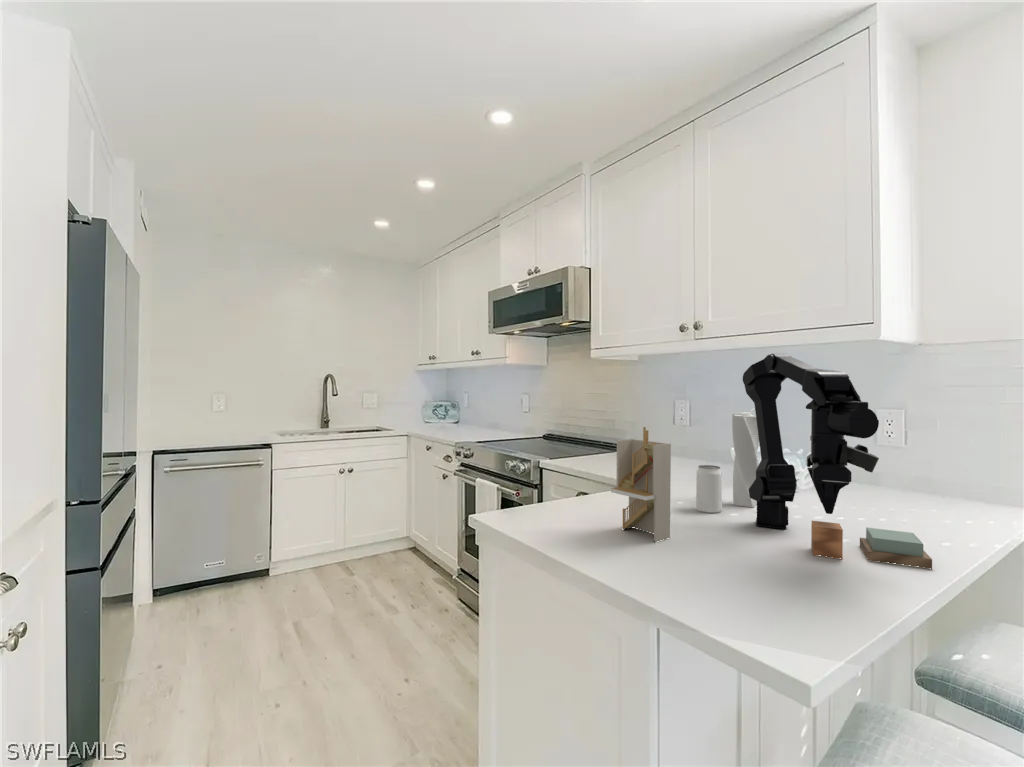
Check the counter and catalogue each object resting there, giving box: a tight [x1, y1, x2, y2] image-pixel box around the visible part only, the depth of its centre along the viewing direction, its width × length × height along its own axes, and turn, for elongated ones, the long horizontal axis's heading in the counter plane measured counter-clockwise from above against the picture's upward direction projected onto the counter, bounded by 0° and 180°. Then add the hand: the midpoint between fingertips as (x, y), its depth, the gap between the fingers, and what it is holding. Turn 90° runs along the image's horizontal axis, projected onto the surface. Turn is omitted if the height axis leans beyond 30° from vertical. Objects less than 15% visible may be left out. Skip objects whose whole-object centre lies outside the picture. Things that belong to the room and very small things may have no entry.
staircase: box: [610, 426, 672, 543], centre depth 117 cm, size 8×12×26 cm
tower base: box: [859, 537, 933, 570], centre depth 103 cm, size 10×10×2 cm
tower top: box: [865, 526, 924, 557], centre depth 103 cm, size 8×8×2 cm
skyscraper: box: [731, 407, 760, 509], centre depth 146 cm, size 8×8×28 cm
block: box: [810, 520, 844, 560], centre depth 105 cm, size 5×5×6 cm
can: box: [695, 464, 723, 514], centre depth 139 cm, size 6×6×12 cm
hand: (826, 508), depth 105 cm, fingers open, 9 cm apart
